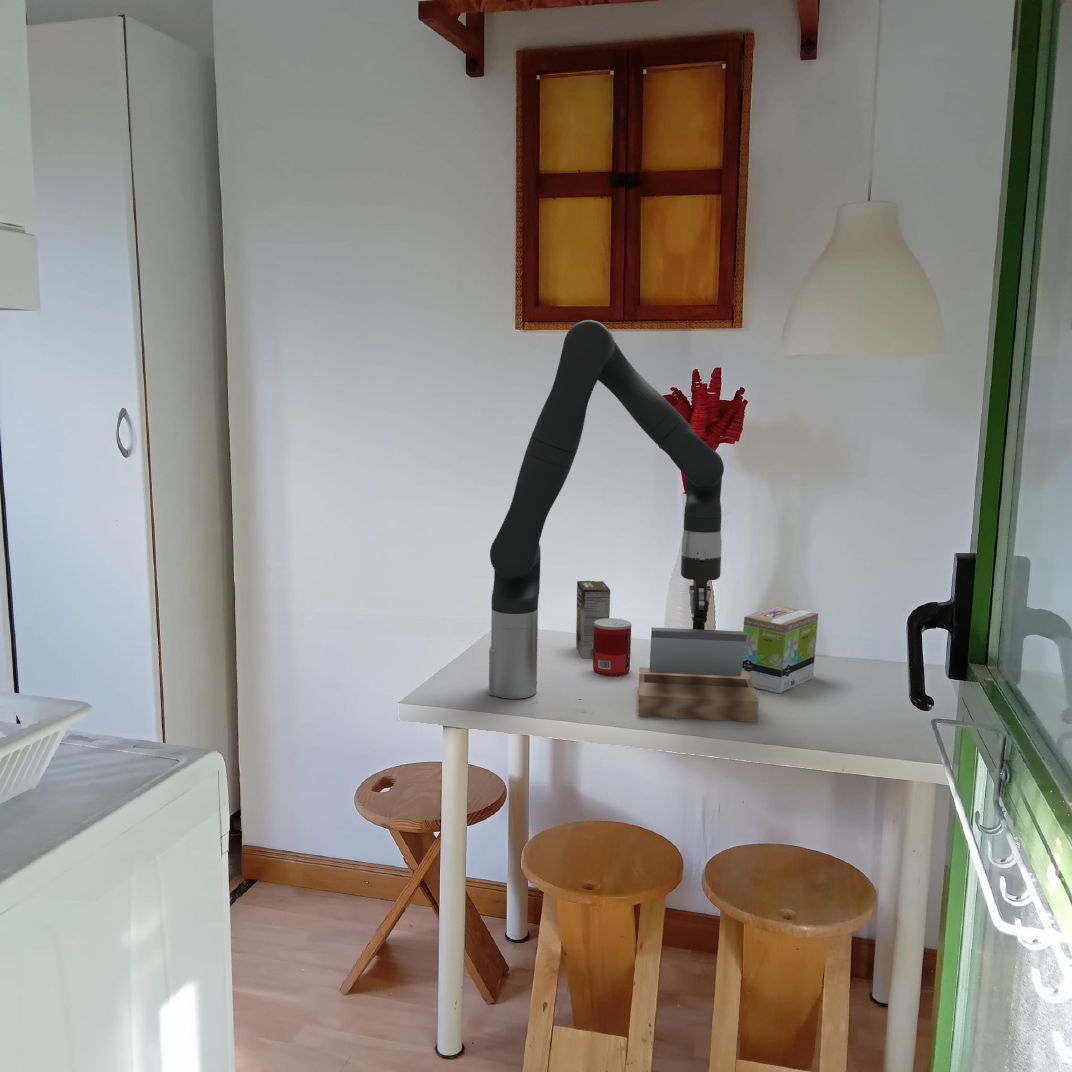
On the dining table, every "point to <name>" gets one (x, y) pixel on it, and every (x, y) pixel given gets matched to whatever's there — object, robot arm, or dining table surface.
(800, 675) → the tea box
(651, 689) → the wooden tray
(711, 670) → the cover
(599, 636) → the canned food
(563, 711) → the dining table surface
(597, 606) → the coffee box
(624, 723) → the dining table surface
